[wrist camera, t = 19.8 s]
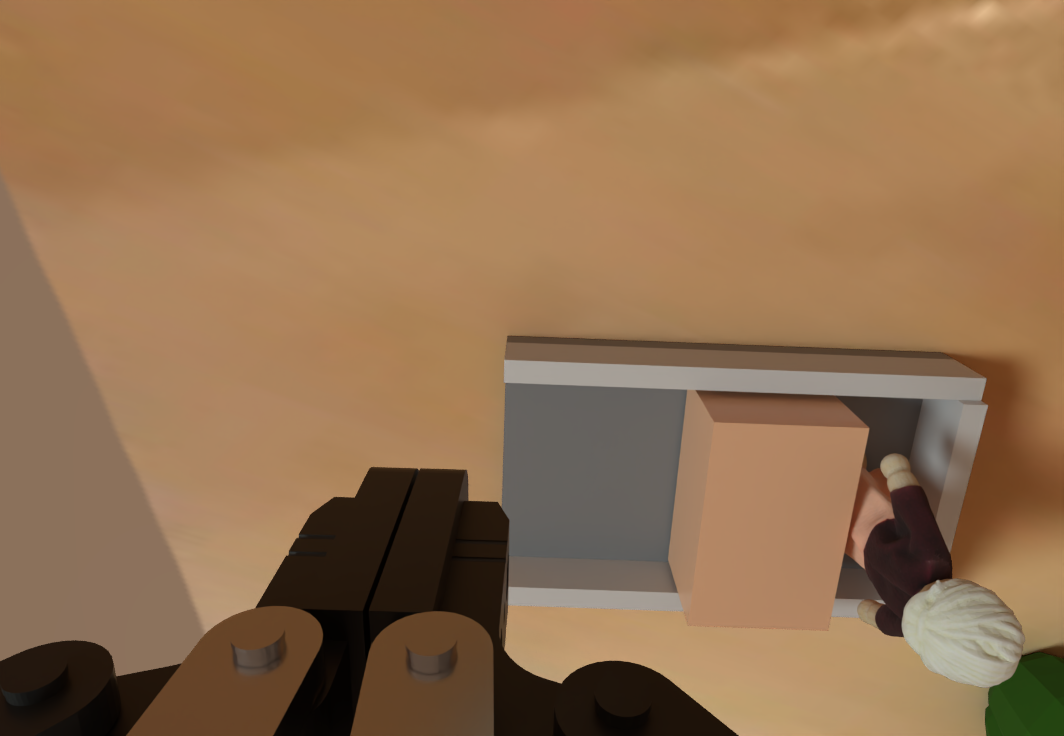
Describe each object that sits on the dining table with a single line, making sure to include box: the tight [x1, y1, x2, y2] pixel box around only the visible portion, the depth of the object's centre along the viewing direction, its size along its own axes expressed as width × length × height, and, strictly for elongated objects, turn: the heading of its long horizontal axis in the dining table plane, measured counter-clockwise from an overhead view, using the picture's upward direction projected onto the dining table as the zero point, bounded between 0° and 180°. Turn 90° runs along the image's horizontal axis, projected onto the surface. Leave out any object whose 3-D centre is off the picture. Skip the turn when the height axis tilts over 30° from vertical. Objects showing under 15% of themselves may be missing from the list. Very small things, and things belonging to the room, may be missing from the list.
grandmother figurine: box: [844, 453, 1025, 688], centre depth 29 cm, size 8×4×13 cm, turn 13°
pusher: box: [668, 390, 870, 631], centre depth 32 cm, size 6×9×5 cm, turn 178°
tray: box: [502, 336, 988, 618], centre depth 34 cm, size 20×12×4 cm, turn 88°
